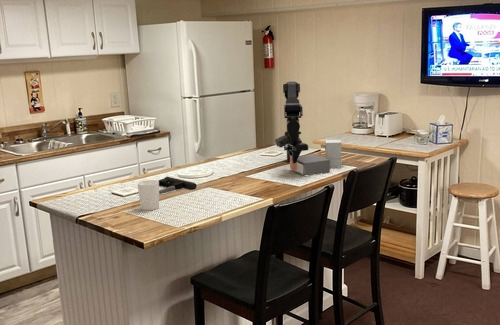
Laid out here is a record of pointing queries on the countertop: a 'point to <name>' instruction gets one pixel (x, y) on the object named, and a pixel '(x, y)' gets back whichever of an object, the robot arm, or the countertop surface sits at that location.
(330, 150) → the supplement box
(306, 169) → the mailer sleeve
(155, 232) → the countertop surface
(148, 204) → the white cup
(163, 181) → the black handgun
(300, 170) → the tray
